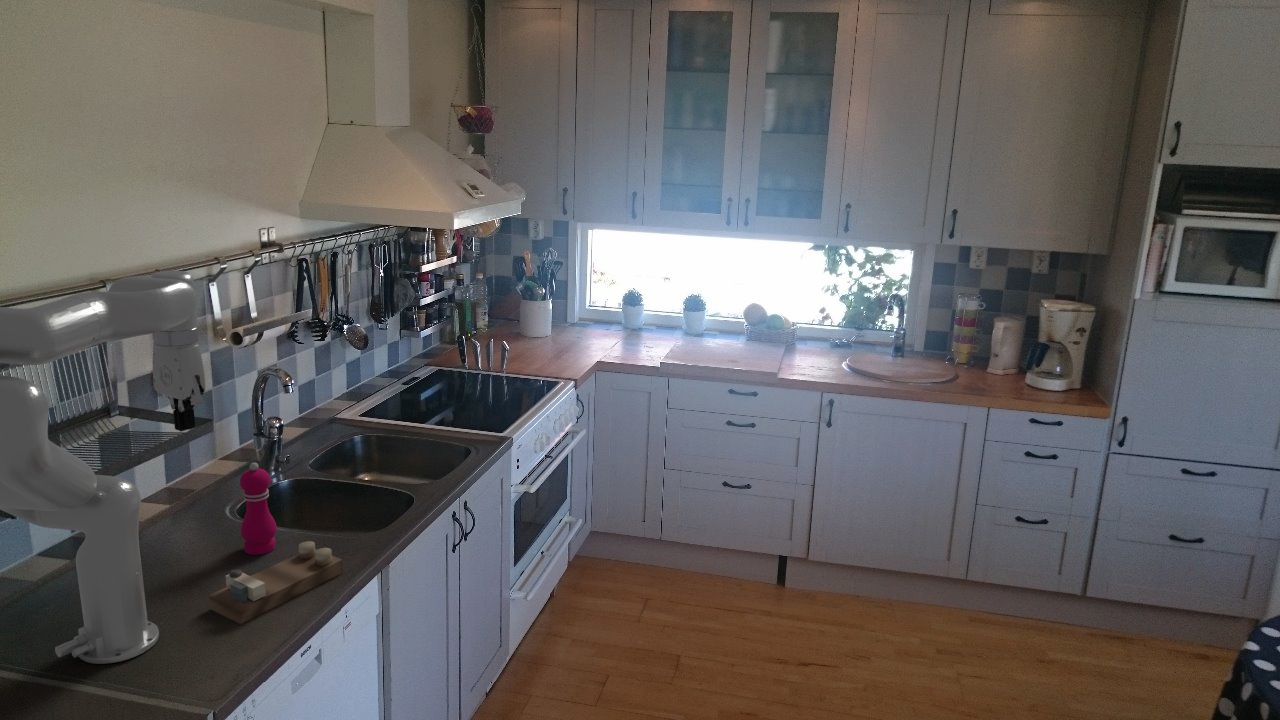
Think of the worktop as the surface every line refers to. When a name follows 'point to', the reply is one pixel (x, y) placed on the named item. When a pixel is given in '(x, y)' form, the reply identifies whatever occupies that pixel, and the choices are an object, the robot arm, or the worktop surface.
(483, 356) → the worktop surface
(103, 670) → the worktop surface
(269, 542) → the pepper mill
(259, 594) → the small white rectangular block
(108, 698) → the worktop surface
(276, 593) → the rectangular wooden board
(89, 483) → the robot arm
